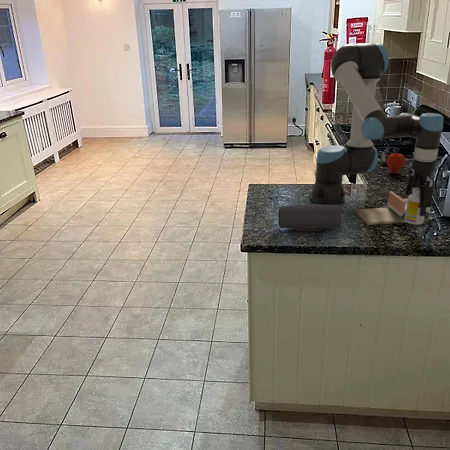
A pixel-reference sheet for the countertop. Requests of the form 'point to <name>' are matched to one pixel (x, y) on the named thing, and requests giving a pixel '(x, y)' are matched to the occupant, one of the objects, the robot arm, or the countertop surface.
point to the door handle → (385, 158)
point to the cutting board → (381, 216)
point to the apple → (395, 162)
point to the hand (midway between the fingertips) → (414, 219)
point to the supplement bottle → (412, 206)
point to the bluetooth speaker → (309, 217)
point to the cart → (401, 205)
